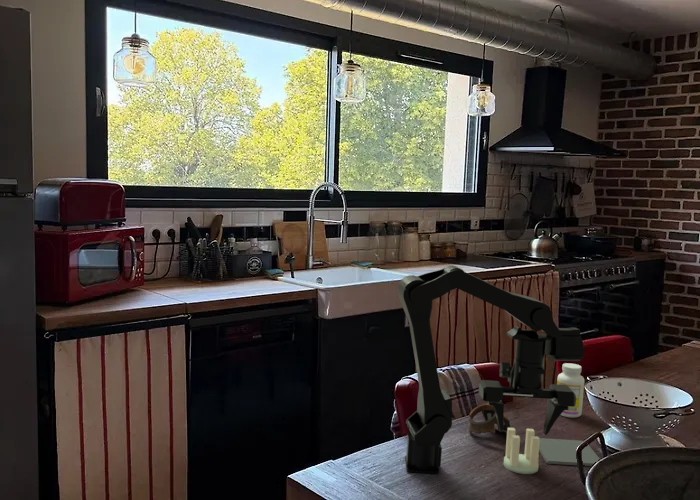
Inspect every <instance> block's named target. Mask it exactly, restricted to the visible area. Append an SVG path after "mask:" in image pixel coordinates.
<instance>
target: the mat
mask: <svg viewBox="0 0 700 500" xmlns="http://www.w3.org/2000/svg"><path fill="white" fill-rule="evenodd" d="M539 439H540V445H539V453H540V455H541V456H542V457H543V460H544V461H545V462H546V464H549V465H551V464H552V465H564V466H565V465H567V466H568V465H569V466H578V465H577V459H576V448H577V446H578V445H580V444H581V443H582V442H584V441H585V440H576V439H558V438H543V437H542V438H541V437H539ZM599 459H600V457H599V456H598V455H597V453H596V452H595V451H594V450H593V449H592V448H591V446H590V445H589V444H588V446H587V447H585V448H584V449H583V450H582V461H583V465H585V467H593V466H592V465H593V464H594V463H595V462H597V461H598V460H599ZM600 460H601V459H600Z"/></svg>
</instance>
